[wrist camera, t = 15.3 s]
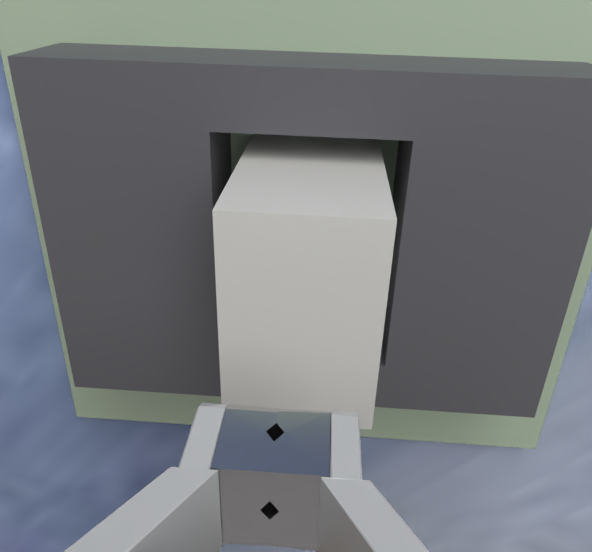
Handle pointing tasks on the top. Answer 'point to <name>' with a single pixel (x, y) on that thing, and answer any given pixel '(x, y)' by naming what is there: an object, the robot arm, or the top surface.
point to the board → (317, 123)
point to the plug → (304, 274)
